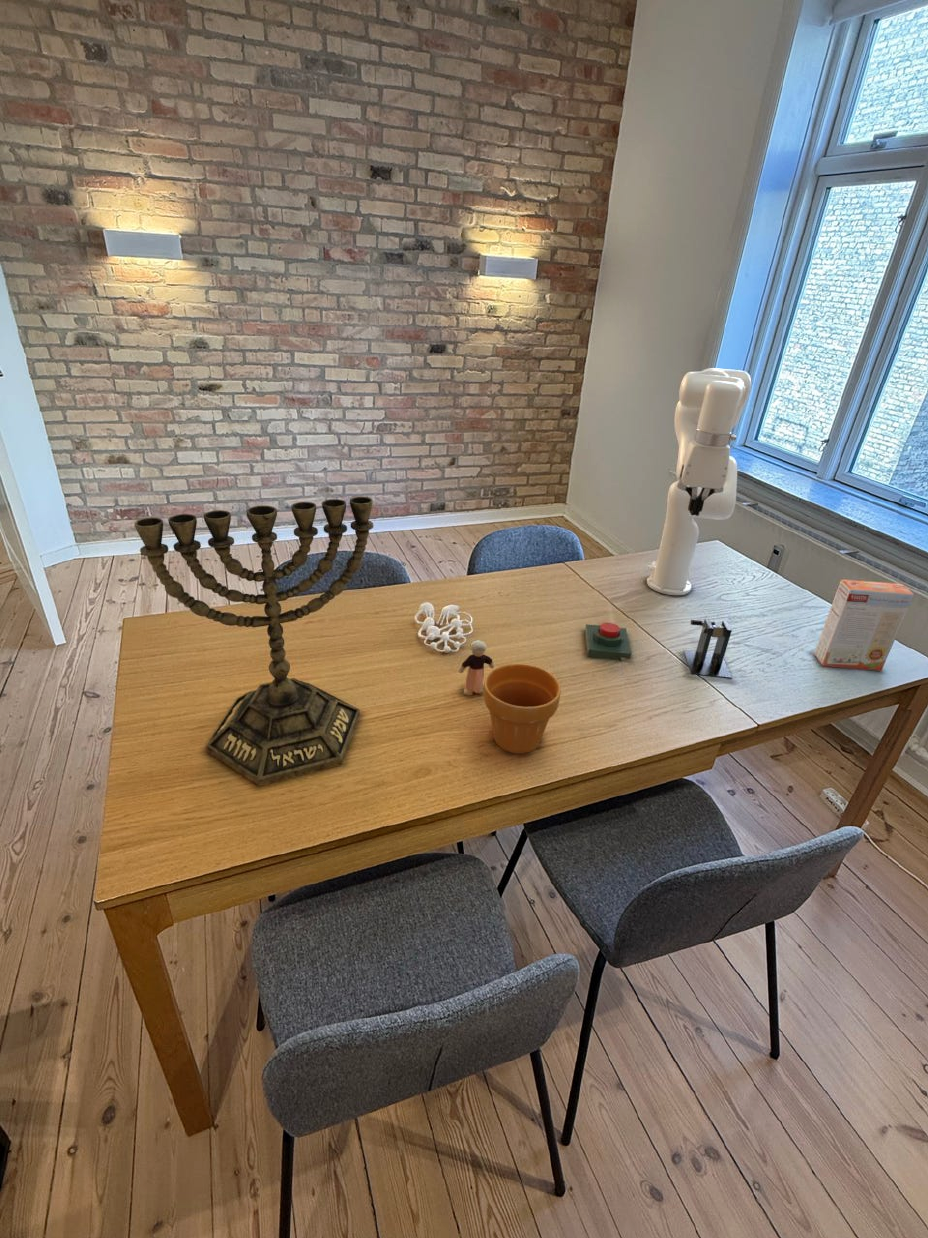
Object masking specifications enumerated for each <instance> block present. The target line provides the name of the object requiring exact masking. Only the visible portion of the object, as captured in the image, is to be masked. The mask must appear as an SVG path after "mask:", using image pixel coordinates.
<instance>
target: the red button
mask: <svg viewBox="0 0 928 1238" xmlns="http://www.w3.org/2000/svg"><path fill="white" fill-rule="evenodd" d="M600 625H601V626H600V631H599V633H600V634H601V635H602V636H605V637H609V638H615V637H618V635H619V630H620V628H621V627H620V626H619V625H618V624H616V623H614V622H602V623H601V624H600Z"/></svg>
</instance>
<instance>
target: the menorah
mask: <svg viewBox="0 0 928 1238" xmlns="http://www.w3.org/2000/svg"><path fill="white" fill-rule="evenodd" d="M373 505H374V501H373V499H372V498H371V497H369V496H353V497H350V499H349V506H350V509H351V513H352V515H353V519H354V520H353V521H352V522H350V529H352V530H353V531H355V536H356V538H357V539H356V540H355V545H354V550H353V551H352V555H351V556H350V557H349V558H348V559H347V561H346V565H345V566H346V567H345V569H343V570H342V573H341V574H339V578H336V579H335V580H333V581H332V582H331V584H330V585H329V587H328V589H327V590H325V591H324V593H321V594H320V595H319V597H314V598H312V599H311V600H309V601H308V602H307V604H303V605H301V606H300V607H296V608H295V609H290V610H287V611H285V612H282V606H281V604H280V603H279V602H284V601H287V600H288V599H289V598H293V597H294V596H298V595H299V594H300V593H305V592H308V591H309V590H311V589H312V588H313V587H314V586H315V584H317V583H319V582H320V579H322V578H323V577H325V574H326V573H328V572H330V571H331V570H332V569H333V566H334V560H335V559H336V557H337V554H338V552H339V551H338V549H339V548H340V541H341V540H342V538H343V535H344V534H345V533H346V532H347V531H348V526H347V525H346V524H345V523H343V521H344V517H345V515H346V510H347V502H346V501H345V500H343V499H340V498H339V499H338V498H330V499H325V500H322V502H321V508H322V511H323V513H324V516H325V519H326V522H327V523H326V524H324V526H323V532H324V533H326V534H327V535H328V539H329V542H328V543H327V546H328V547H327V548H326V553H325V554H324V556H323V557H322V558H320V559H319V561H318V562H317V568H315V569H314V570H313V572H311V573H309V577H307V578H304V579H302V580H300V581H299V582H298V583H297V585H294V586H292V587H291V588H287V589H286V590H280V591H279V584H278V581H276V580H281V579H284V578H285V577H286V576H287V577H289V576H291V575H292V574H293V573H294V572H296V571H297V570H298V568H300V567H302V566H303V565H305V564H306V562H307V560H308V554H309V553H310V552H311V545H312V543H313V541H314V537H315V536H317V535H318V534H319V529H318V528H317V527H316V526H313V525H314V521H315V517H316V513H317V504H316V503H314V502H311V501H297V502H294V503H292V504H291V506H290V508H291V513H292V515H293V518H294V520H295V522H296V525H297V527H295V528H294V529H293V535H294V536H295V537H298V540H299V544H300V545H299V546H298V549H297V550H296V551H295V552H294V553H293V554H292V555H291V561H288V562H287V564H286V565H282V568H276V569H275V562H274V560H273V556H272V549H271V548H272V546H273V544H274V542H275V541H277V539H278V534H277V533H276V532H275V531H273V530H274V527H275V522H276V519H277V517H278V510H277V508H276V507H275V506H272V505H262V504H261V505H254V506H251V507H249V508H247V509H246V510H245V513H246V518H247V519H248V522H249V523H250V525H251V526H252V528H253V530H254V531H255V532H254V533H253V534H252V535H251V540H252V541H253V542H254V543H256V544H257V545H258V548H260V550H261V552H260V553H261V563H260V567H261V571H256V572H254V571H253V570H252V569H248V568H247V567H243V564H242V562H241V561H240V560H238V559H236V558H233V556H232V555H231V546H233V545H234V544H235V539H234V537H233V536H231V535H229V533H230V527H231V522H232V521H231V520H232V514H231V512H230V511H228V510H223V509H217V510H216V509H215V510H210V511H207V512H204V513H203V521H204V523H205V525H206V527H207V529H208V530H209V533H210V534H211V537H210V538H209V539H207V544H208V546H209V547H210V548H212V549H213V548H214V551H215V553H216V554H217V555H218V556H219V560H220V562H221V564H223V565H224V567H225V569H226V571H227V572H228V573H229V574H232V575H234V576H237V577H239V578H240V579H242V580H246V581H248V582H252V581H254V582H256V583H260V582H261V583H262V587H261V588H262V591H263V593H264V594H263V593H259V594H258V593H257V594H254V593H250V594H249V593H243V592H242V591H240V590H238V589H229V588H228V587H227V586H226V585H223V584H222V583H220V582H218V581H217V579H216V577H215V576H214V575H213V574H211V573H208V572H207V571H206V569H204V567H203V565H202V564H201V563H200V559H198V558H197V557H198V550H200V549H201V547H202V543H201V542H200V541H199V540H196V539H195V537H196V531H197V526H198V525H197V524H198V518H197V516H196V515H194V514H190V513H180V514H175V515H172V516H170V517H168V519H167V521H168V525H169V527H170V529H171V531H172V533H173V534H174V537H175V538H176V540H177V542H175V543H174V544H173V550H174V551H175V552H177V553H180V556H181V557H182V558H183V560H184V561H185V562H186V565H187V566H188V568H189V569H190V572H191V573H192V574H193V576H194V578H195V579H198V583H199V584H200V586H201V587H202V588H203V589H206V590H211V591H212V592H213V594H217V595H218V596H219V597H220V598H221V597H222V598H225V599H226V600H228V601H230V602H233V603H241V602H242V603H245V604H247V603H250V604H256V605H264V607H263V608H264V609H263V611H264V615H263V616H262V615H253V616H250V615H246V616H245V615H236V614H235V613H233V612H228V611H226V612H225V611H223V612H222V611H220V610H216V609H214V608H211V607H210V606H209V605H208V604H207V603H206V602H205V601H202V600H200V599H195V597H194V596H192V595H190V593H188V592H186V591H185V588H184V586H183V585H182V583H180V582H179V581H176V580H175V579H174V577H173V575H171V574H170V573H171V572H170V571H169V569H167V565H166V564H165V563H164V562H165V555H166V554H167V553H168V552H169V546H168V545H167V544H165V543H162V542H163V535H164V521H163V519H162V518H159V517H153V516H152V517H143V518H140V519H137V520H136V521H134V523H133V524H134V528H135V530H136V532H137V534H138V536H139V537H140V539H141V541H142V543H143V546H142V547H141V548H140V549H139V552H140V555H142V556H143V557H147V558H146V559H147V560H148V562H149V564H150V566H151V568H152V571H153V572H154V573H156V574H155V576H156V578H157V579H159V582H160V584H161V585H163V586H164V591H165V593H166V594H167V595H168V596H169V597H172V598H174V599H177V601H178V602H179V603H181V604H183V606H184V608H188V609H189V610H190V611H191V612H192V614H195V615H196V616H199V617H205V618H206V619H208V620H213V621H214V622H219V623H220V624H222V625H225V626H229V627H233V626H237V627H240V628H242V627H246V628H250V627H251V628H260V627H267V628H266V632H267V635H268V637H269V639H268V646H269V648H270V651H269V655H270V658H271V661H270V662H269V665H268V671H269V673H270V675H271V676H272V677H273V678H274V679H272V681H270V682H266V683H261V684H259V686H258V687H257V688H256V689H254V690H250V691H247V692H246V693H243V694H242V695H240V696H238V697H237V698H236V699H235V701H234V702H233V704H232V705H231V707H230V708H229V710H228V711H227V713H226V715H225V716H224V718H223V719H222V721H221V722H220V724H219V725H218V727H217V728H216V730H215V731H214V732H213V734H212V736H211V737H210V739H209V740H208V742H207V743H206V745H205V748H206V752H207V753H208V754H210V755H212V756H213V757H215V758H216V759H217V760H219V761H221V762H222V763H224V764H225V765H227V766H228V767H230V768H231V769H233V770H234V771H235V772H237V773H239V774H240V775H242V776H243V777H245V778H246V779H248V780H249V781H251V782H252V783H254V784H255V785H257V786H258V787H262V786H266V785H270V784H275V783H277V782H281V781H285V780H288V779H293V778H297V777H300V776H304V775H307V774H311V773H315V772H319V771H323V770H328V769H330V768H334V767H338V766H342V765H343V762H344V759H345V757H346V754H347V752H348V748H349V746H350V743H351V740H352V737H353V735H354V732H355V730H356V727H357V725H358V721H359V719H360V716H361V712H360V708H358V707H355V706H353V705H351V704H350V703H348V702H347V701H344V700H342V699H340V698H338V697H337V696H335V695H332V694H331V693H329V692H326V691H325V690H323V689H321V688H319V687H317V686H315V685H313V684H311V683H309V682H306V681H303V680H299V679H297V678H295V677H290V678H289V677H288V675H289V673H290V670H291V664H290V662H289V661H288V660H287V659H286V656H287V655H286V653H287V652H286V650H285V648H284V647H285V638H284V637H283V635H284V627H283V625H282V624H284V623H290V622H294V621H297V620H298V619H302V618H303V617H304V616H309V615H310V614H312V613H315V612H317V611H319V610H321V609H323V607H324V606H325V605H327V604H329V602H330V601H332V600H334V598H335V597H336V596H339V595H340V594H341V593H343V592H344V590H345V589H346V587H347V584H349V583H350V582H351V578H354V574H355V573H356V572H357V571H358V570H359V569H360V568H361V567H362V564H363V561H362V559H363V558H364V556H365V551H366V550H367V549H366V546H367V545H368V537H369V534H370V531H371V530H372V529H373V528H374V523H373V522H372V521H371V520H370V516H371V512H372V508H373ZM265 615H266V616H265Z"/></svg>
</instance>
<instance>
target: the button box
mask: <svg viewBox="0 0 928 1238" xmlns="http://www.w3.org/2000/svg"><path fill="white" fill-rule="evenodd" d="M600 626H601V624H585V626H584V627H585V628H584V638H585V647H586V657H587V658H593V659H603V660H611V661H612V660H613V661H622V658H624V659H631V657H632V650H631V649H632V648H631V644H630V641H629V636H628V632H627V627H619V628H620V630H619V635H618V637H615V638H609V637H605V636H602V635H601V634H600V633H599V631H600Z"/></svg>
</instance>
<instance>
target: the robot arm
mask: <svg viewBox="0 0 928 1238" xmlns="http://www.w3.org/2000/svg"><path fill="white" fill-rule="evenodd" d="M751 389H752V379H751V376H750V374H749V373H748V372H747V371H745V370H740V369H739V370H738V369H728V368H717V367H712V368H711V367H708V368H705V369H703V370H701V371H689V372H686V373H685V375H684V376H683V377H682V380H681V383H680V386H679V392H678V397H679V400H678V402H677V403H676V406H675V409H674V423H673V424H674V433H675V437H676V440H677V444H678V452H677V459H676V461H677V462H676V470H675V475H676V479H677V480H676V481H674V482H673V483H672V484H671V485H670V486H669V489H668V492H667V498H666V499H667V502H666V512H665V513H666V514H665V520H664V526H663V530H662V536H661V541H660V545H659V549H658V553H657V558H656V560H654V561H652V562H651V563H650V564H649V565H648V566H647V569H648V570H650V571H651V575H650V574H649V576H648V577H647V579H646V584H647V586H648V587H649V588H650V589H651V590H653V591H655V592H657V593H659V594H663V595H668V596H684V595H688V594H689V593H690V592H691V590H692V583H691V582H690V581H689V576H690V572H691V568H692V564H693V560H694V555H695V552H696V548H697V543H698V539H699V534H700V532H699V531H700V530H699V527H698V525H697V523H696V521H695V519H694V518H700V519H709V520H715V521H716V520H717V521H724V520H727V519H729V518H731V516H732V515H733V514H734V511H735V508H736V502H737V486H738V463H737V460H736V459H735V458H734V457H733V456H731V446H730V443H731V442H735V441H736V440H737V435H736V434H733V433H732V429H734V428H735V427H736V426H737V425H738V423H739V421H740V419H741V416H742V413H743V411H744V409H745V407H746V405H747V402H748V400H749V397H750V394H751Z"/></svg>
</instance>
